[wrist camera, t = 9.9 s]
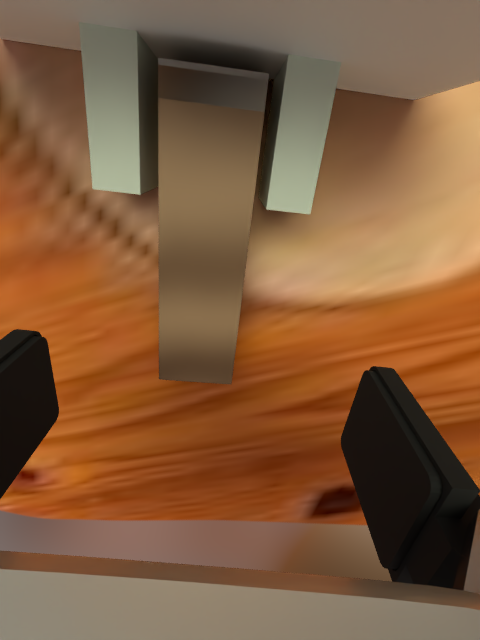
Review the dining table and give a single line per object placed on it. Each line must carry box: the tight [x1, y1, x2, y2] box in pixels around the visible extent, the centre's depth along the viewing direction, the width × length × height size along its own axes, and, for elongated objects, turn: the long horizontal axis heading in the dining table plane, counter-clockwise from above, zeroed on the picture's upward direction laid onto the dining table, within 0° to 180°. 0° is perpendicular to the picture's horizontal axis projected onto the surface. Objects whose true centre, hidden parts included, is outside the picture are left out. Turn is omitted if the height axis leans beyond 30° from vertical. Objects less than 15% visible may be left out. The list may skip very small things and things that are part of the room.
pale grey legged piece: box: [0, 0, 480, 214], centre depth 10 cm, size 20×7×14 cm, turn 84°
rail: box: [158, 58, 269, 384], centre depth 17 cm, size 14×4×5 cm, turn 174°
